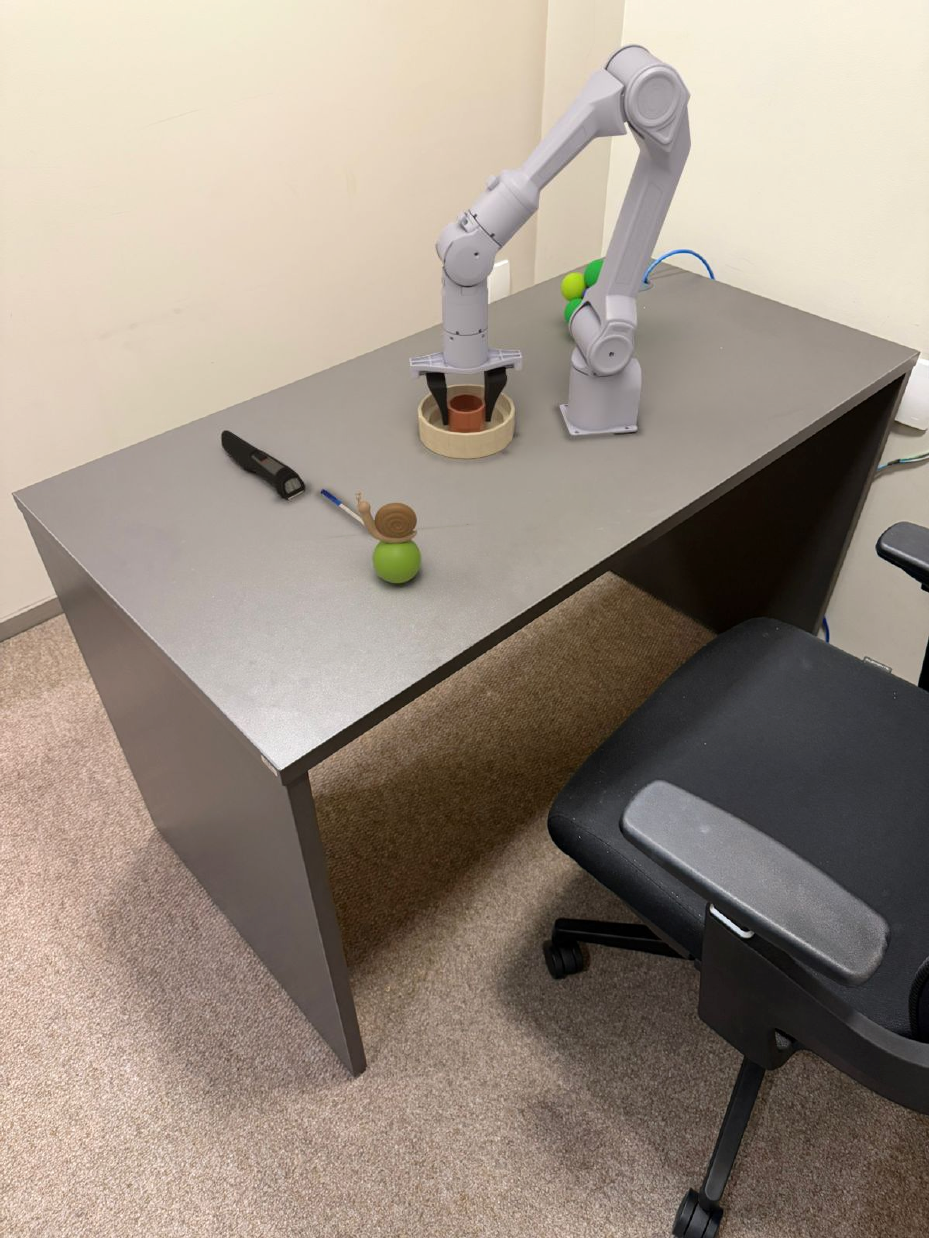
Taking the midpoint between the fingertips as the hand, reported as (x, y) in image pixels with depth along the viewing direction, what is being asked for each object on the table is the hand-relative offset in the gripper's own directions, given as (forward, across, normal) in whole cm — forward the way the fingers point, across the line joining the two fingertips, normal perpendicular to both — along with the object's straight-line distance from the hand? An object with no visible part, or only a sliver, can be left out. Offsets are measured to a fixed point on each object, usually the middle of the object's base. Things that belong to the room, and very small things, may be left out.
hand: (466, 419), depth 117 cm
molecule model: (+3, -24, -26) cm, 35 cm away
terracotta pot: (+2, 0, 0) cm, 2 cm away
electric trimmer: (+3, +28, +5) cm, 28 cm away
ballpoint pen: (+3, +17, +15) cm, 23 cm away
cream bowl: (+2, 0, 0) cm, 2 cm away
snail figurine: (+3, +12, +28) cm, 31 cm away
